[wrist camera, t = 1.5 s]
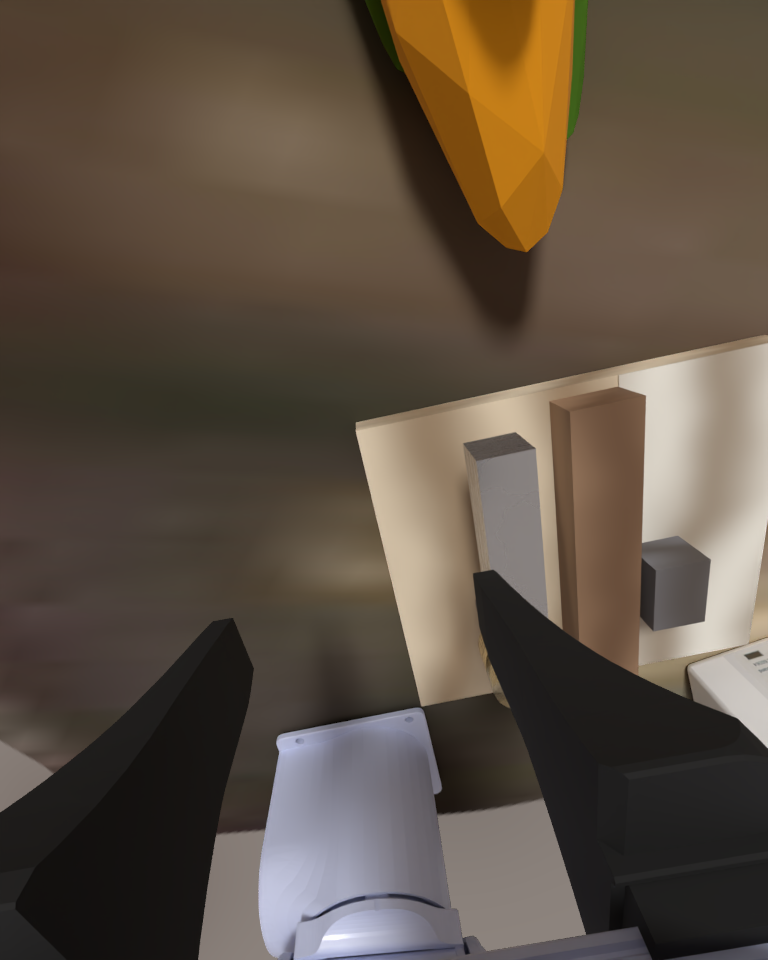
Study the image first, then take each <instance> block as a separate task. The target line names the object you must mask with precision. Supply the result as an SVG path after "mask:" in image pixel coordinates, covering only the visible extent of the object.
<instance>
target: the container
mask: <svg viewBox="0 0 768 960" xmlns="http://www.w3.org/2000/svg"><path fill="white" fill-rule="evenodd" d="M687 671H688V676H689V681H690V685H691V690H692V695H693V700H694V701H695V702H697V703H700V704H702V705H705V706H707V707H710V708H713V709H715V710H718V711H720V712H723V713H725V714H728V715H731V716H733V717H736V718H738V719H739V720H740V721H741V722H742V723H743V724H744V725H745V726H746V727H747V728H748V729H749V730H750V731H751V732H752V733H753V734H754V735H755V736H756V737H758V739H759V740H760V741H761V742H762V743H763V744H764V745H765V746H766V747H767V748H768V637H767V638H764V639H761V640H758V641H755V642H752V643H749V644H747V645H744V646H741V647H738V648H735V649H732V650H729V651H726V652H723V653H720V654H718V655H715V656H712V657H709V658H706V659H703V660H700V661H697V662H694V663H691V664H689V665H688V668H687Z"/></svg>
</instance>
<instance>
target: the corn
mask: <svg viewBox="0 0 768 960" xmlns="http://www.w3.org/2000/svg"><path fill="white" fill-rule="evenodd" d="M365 2H366V4H367V7H368V9H369V12H370V14H371V17H372V19H373V22H374V24H375V27H376V29H377V32H378V34H379V37H380V39H381V42H382V44H383V46H384V47H385V49H386V51H387V53H388V55H389V57H390V58H391V60H392V62H393V64H394V66H395V67H396V69H397V70H399V71H402V72H404V73H405V74H406V76H407V78H408V80H409V82H410V84H411V86H412V88H413V90H414V92H415V94H416V96H417V98H418V101H419V103H420V105H421V107H422V109H423V111H424V113H425V115H426V117H427V119H428V121H429V123H430V125H431V127H432V130H433V132H434V134H435V136H436V138H437V140H438V142H439V144H440V146H441V148H442V150H443V152H444V154H445V156H446V159H447V161H448V163H449V165H450V167H451V169H452V171H453V173H454V175H455V177H456V179H457V181H458V183H459V186H460V188H461V190H462V192H463V194H464V196H465V198H466V200H467V202H468V204H469V206H470V208H471V210H472V212H473V215H474V217H475V219H476V221H477V223H478V224H479V225H480V226H481V227H482V228H484V229H485V230H486V231H487V232H488V233H489V234H491V235H492V236H493V237H494V238H495V239H497V240H498V241H499V242H500V243H501V244H502V245H504V246H505V247H506V248H509V249H514V250H518V251H523V252H528V251H529V250H530V249H531V248H532V247H533V246H534V245H535V244H536V243H537V242H538V241H539V240H540V239H541V238H542V237H543V236H544V235H545V234H546V233H547V232H548V230H549V227H550V224H551V221H552V218H553V215H554V213H555V210H556V207H557V204H558V201H559V198H560V195H561V192H562V189H563V178H564V166H565V154H566V142H567V139H568V138H569V137H570V136H571V135H572V133H573V132H574V128H575V125H576V121H577V118H578V114H579V107H580V100H581V93H582V85H583V78H584V61H585V44H586V26H587V8H588V0H365Z"/></svg>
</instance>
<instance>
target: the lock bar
mask: <svg viewBox="0 0 768 960" xmlns="http://www.w3.org/2000/svg"><path fill="white" fill-rule="evenodd" d="M463 448H464V455H465V462H466V469H467V476H468V483H469V490H470V498H471V505H472V512H473V519H474V526H475V533H476V540H477V547H478V554H479V561H480V568H481V572H483V571H488V570H495V571H496V572H498V574H499V575H500V576H501V577H502V578H503V579H504V580H505V581H506V582H507V583H508V584H509V585H510V586H511V587H513V588H514V589H515V590H516V591H517V592H518V593H519V594H520V595H521V596H522V597H523V598H524V599H526V600H527V601H528V602H529V603H530V604H531V605H532V606H534V607H535V608H536V609H537V610H538V611H540V612H541V613H542V614H543V615H544V616H546V617H547V618H548V606H547V593H546V579H545V566H544V552H543V539H542V525H541V511H540V498H539V484H538V471H537V457H536V448H535V447H533V446H532V445H531V444H530V443H528V442H527V441H526V440H525V439H523V438H522V437H521V436H520V435H519V434H517V433H516V432H513V433H509V434H504V435H499V436H495V437H490V438H485V439H481V440H476V441H471V442H466V443H463ZM478 648H479V652H480V655H481V658H482V661H483V663H484V666H485V669H486V672H487V675H488V678H489V681H490V684H491V687H492V689H493V692H494V695H495V697H496V698H497V700H498V701H499V702H500V703H501V704H503V705H504V706H506V707H508V708H510V706H509V704H508V702H507V699H506V697H505V695H504V693H503V690H502V688H501V686H500V683H499V681H498V679H497V676H496V674H495V672H494V669H493V667H492V665H491V662H490V660H489V657H488V654H487V651H486V648H485V644H484V641H483V638H482V634H480V636H479V639H478Z"/></svg>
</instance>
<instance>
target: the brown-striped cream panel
mask: <svg viewBox="0 0 768 960" xmlns="http://www.w3.org/2000/svg"><path fill="white" fill-rule="evenodd" d="M513 432H516V433H517V434H519V435H520V436H521V437H522V438H523V439H525V440H526V441H527V442H528V443H530V444H531V445H532V446H533V447H535V448H536V457H537V471H538V484H539V498H540V511H541V525H542V539H543V552H544V566H545V579H546V593H547V606H548V619H549V620H551V621H552V622H553V623H554V624H556V625H557V626H558V627H560V628H561V629H562V630H564V631H565V632H566V633H568V634H569V635H571V636H572V637H573V638H575V639H576V640H578V641H579V642H581V643H582V644H584V645H585V646H587V647H588V648H590V649H592V650H593V651H595V652H596V653H598V654H599V655H601V656H603V657H604V658H606V659H608V660H610V661H611V662H613V663H615V664H617V665H619V666H621V667H622V668H624V669H626V670H628V671H630V672H632V673H634V674H636V675H637V676H638V666H639V665H644V664H650V663H655V662H660V661H665V660H670V659H675V658H680V657H685V656H690V655H696V654H701V653H706V652H711V651H716V650H721V649H726V648H731V647H736V646H742V645H747V644H749V638H750V632H751V625H752V619H753V612H754V606H755V599H756V593H757V586H758V580H759V573H760V567H761V560H762V554H763V547H764V541H765V534H766V528H767V521H768V335H761V336H756V337H752V338H747V339H742V340H738V341H733V342H728V343H724V344H719V345H714V346H710V347H705V348H701V349H696V350H691V351H687V352H682V353H677V354H673V355H668V356H663V357H659V358H654V359H649V360H645V361H640V362H635V363H631V364H626V365H621V366H617V367H612V368H608V369H603V370H598V371H594V372H589V373H584V374H580V375H575V376H570V377H566V378H561V379H556V380H552V381H547V382H542V383H538V384H533V385H528V386H524V387H519V388H514V389H510V390H505V391H501V392H496V393H491V394H487V395H482V396H477V397H473V398H468V399H463V400H459V401H454V402H449V403H445V404H440V405H435V406H431V407H426V408H421V409H417V410H412V411H408V412H403V413H398V414H394V415H389V416H384V417H380V418H375V419H370V420H366V421H361V422H356V434H357V438H358V442H359V446H360V451H361V455H362V459H363V463H364V467H365V472H366V476H367V480H368V484H369V488H370V493H371V497H372V501H373V505H374V509H375V513H376V518H377V522H378V526H379V530H380V534H381V539H382V543H383V547H384V551H385V555H386V560H387V564H388V568H389V572H390V576H391V581H392V585H393V589H394V593H395V597H396V602H397V606H398V610H399V614H400V618H401V622H402V627H403V631H404V635H405V639H406V643H407V648H408V652H409V656H410V660H411V664H412V669H413V673H414V677H415V681H416V685H417V690H418V694H419V698H420V702H421V706H427V705H432V704H437V703H442V702H447V701H452V700H458V699H463V698H468V697H473V696H478V695H483V694H488V693H493V689H492V687H491V684H490V681H489V678H488V675H487V672H486V669H485V666H484V663H483V661H482V658H481V655H480V652H479V648H478V639H479V636H480V634H481V631H480V628H479V621H478V613H477V605H476V596H475V588H474V580H473V573H477V572H481V568H480V561H479V554H478V547H477V540H476V533H475V526H474V519H473V512H472V505H471V498H470V490H469V483H468V476H467V469H466V462H465V455H464V448H463V443H466V442H471V441H476V440H481V439H485V438H490V437H495V436H499V435H504V434H509V433H513Z"/></svg>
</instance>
